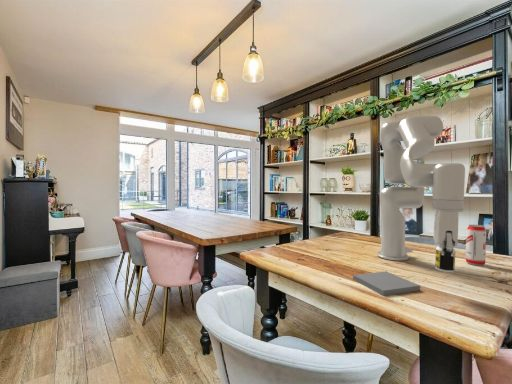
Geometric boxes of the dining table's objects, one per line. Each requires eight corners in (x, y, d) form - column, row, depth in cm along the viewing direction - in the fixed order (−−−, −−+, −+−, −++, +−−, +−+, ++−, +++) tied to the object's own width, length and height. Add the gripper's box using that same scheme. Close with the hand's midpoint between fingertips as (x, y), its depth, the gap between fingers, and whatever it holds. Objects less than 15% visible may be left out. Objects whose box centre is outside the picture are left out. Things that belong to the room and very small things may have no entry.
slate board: (386, 275, 96) (386, 271, 96) (420, 290, 83) (420, 285, 83) (353, 279, 92) (353, 275, 92) (383, 295, 79) (383, 290, 79)
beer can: (482, 263, 112) (483, 225, 112) (487, 267, 106) (488, 227, 106) (463, 261, 115) (464, 224, 114) (468, 265, 109) (469, 226, 109)
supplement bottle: (431, 267, 82) (432, 240, 82) (445, 266, 82) (446, 239, 82) (443, 272, 77) (444, 244, 77) (458, 272, 78) (460, 243, 77)
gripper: (429, 202, 88) (427, 257, 89) (435, 207, 73) (432, 273, 74) (457, 203, 84) (455, 260, 85) (470, 209, 69) (466, 278, 71)
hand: (444, 265), depth 80 cm, fingers closed on supplement bottle, 4 cm apart
